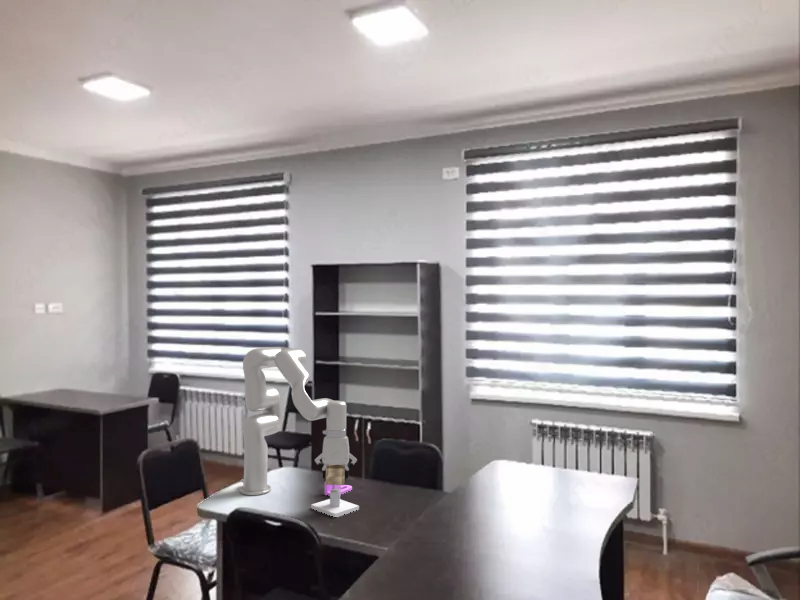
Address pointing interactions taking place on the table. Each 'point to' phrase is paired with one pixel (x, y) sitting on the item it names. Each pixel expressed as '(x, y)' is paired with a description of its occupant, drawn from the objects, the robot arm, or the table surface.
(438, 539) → the table surface
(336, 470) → the wooden collar
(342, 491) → the bracket
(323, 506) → the plate
